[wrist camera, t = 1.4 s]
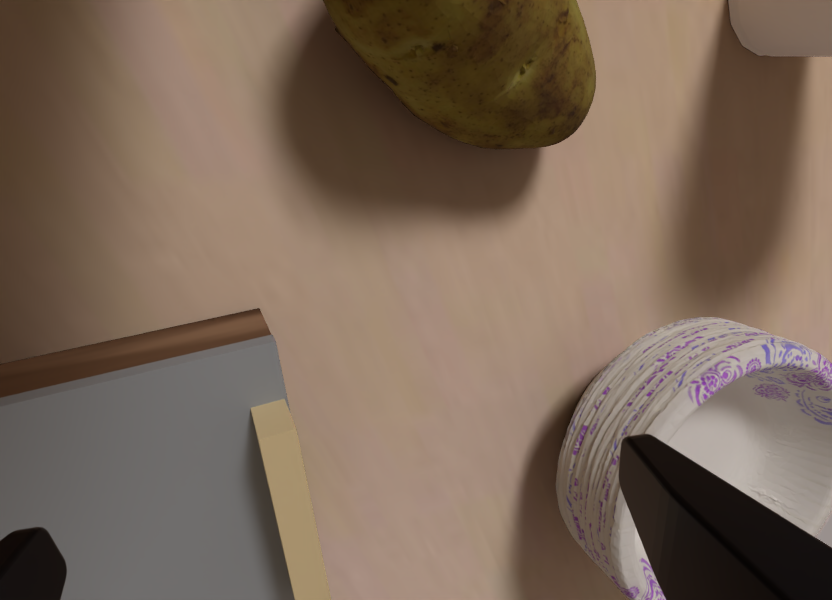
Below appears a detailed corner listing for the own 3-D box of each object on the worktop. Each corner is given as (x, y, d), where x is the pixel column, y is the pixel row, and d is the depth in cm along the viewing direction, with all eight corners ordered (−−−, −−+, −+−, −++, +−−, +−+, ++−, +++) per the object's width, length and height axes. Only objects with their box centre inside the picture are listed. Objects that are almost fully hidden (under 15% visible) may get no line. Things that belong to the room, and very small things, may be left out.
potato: (439, 219, 27) (534, 248, 19) (245, -48, 21) (278, -145, 14) (566, 106, 28) (701, 94, 20) (412, -178, 22) (523, -331, 15)
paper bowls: (520, 562, 34) (610, 674, 27) (528, 319, 30) (636, 375, 23) (713, 500, 39) (831, 580, 32) (743, 285, 35) (885, 322, 28)
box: (307, 537, 28) (325, 595, 25) (-25, 653, 24) (-62, 745, 20) (259, 308, 25) (272, 337, 21) (-145, 395, 20) (-216, 451, 17)
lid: (328, 603, 24) (347, 665, 22) (-63, 757, 20) (-104, 860, 17) (272, 334, 21) (286, 365, 18) (-226, 450, 16) (-314, 517, 13)
